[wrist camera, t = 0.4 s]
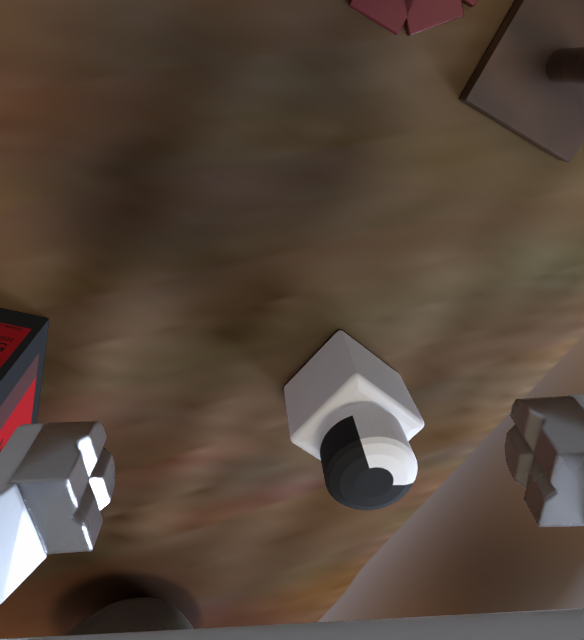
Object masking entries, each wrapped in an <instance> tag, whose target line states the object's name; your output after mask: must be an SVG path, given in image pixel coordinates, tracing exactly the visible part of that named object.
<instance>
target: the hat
mask: <svg viewBox="0 0 584 640" xmlns="http://www.w3.org/2000/svg"><path fill="white" fill-rule="evenodd" d="M462 1H463V2H464V3H466V4H467V5H469V6H470V7H473V6H475V4H476V2H477V0H351V1H350V3H349V6H350V7H352V8H353V9H355V10H357V11H358V12H360V13H361V14H363V15H365V16H366V17H368V18H370V19H371V20H373V21H374V22H376V23H378V24H379V25H381V26H383V27H384V28H386V29H387V30H389V31H391V32H392V33H394V34H396V35H397V34H399V32H400V30H401V28H402V26H403V24H404V22H405V24H406V29H407V34H408V36H410V35H413V34H416V33H419V32H421V31H424V30H427V29H429V28H432V27H435V26H438V25H440V24H443V23H446V22H448V21H451V20H454V19H457V18H459V17H462V16H464V13H463V6H462Z"/></svg>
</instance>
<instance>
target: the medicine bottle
mask: <svg viewBox="0 0 584 640" xmlns="http://www.w3.org/2000/svg"><path fill="white" fill-rule="evenodd" d="M284 394H285V402H286V410H287V417H288V425H289V433H290V440H291V441H292V443H294V444H296V445H297V446H299V447H300V448H302V449H303V450H305V451H307V452H308V453H310V454H311V455H313V456H314V457H316V458H318V459H319V460H321V463H322V468H323V473H324V478H325V483H326V487H327V489H328V491H329V493H330V494H331V496H332V497H333V498H334V499H335V500H336V501H338V502H339V503H341V504H343V505H345V506H348V507H350V508H353V509H358V510H375V509H380V508H383V507H386V506H388V505H391V504H393V503H395V502H396V501H398V500H399V499H400V498H402V497H403V496H404V495H405V494H406V493H407V492H408V490H409V489H410V487H411V486H412V485H413V483H414V481H415V478H416V475H417V461H416V458H415V455H414V453H413V451H412V449H411V446H410V444H409V442H408V441H409V440H410V439H411V438H412V437H413V436H414V435H415V434H416V433H418V432H419V431H420V430H421V429H422V428H423V427H424V421H423V419H422V417H421V415H420V413H419V411H418V409H417V407H416V405H415V403H414V402H413V400H412V398H411V396H410V394H409V392H408V390H407V388H406V386H405V384H404V382H403V380H402V378H401V376H400V375H399V374H398V373H397V372H396V371H394V370H393V369H392V368H391V367H389V366H388V365H387V364H385V363H384V362H383V361H381V360H380V359H379V358H378V357H376V356H375V355H374V354H372V353H371V352H370V351H368V350H367V349H366V348H364V347H363V346H362V345H361V344H359V343H358V342H357V341H355V340H354V339H353V338H351V337H350V336H349V335H347V334H346V333H345V332H344V331H342V330H339V331H337V332H336V333H335V334H334V335H333V336H332V337H331V339H330V340H329V341H328V342H327V343H326V344H325V345H324V346H323V347H322V348H321V349H320V350H319V351H318V352H317V353H316V354H315V355H314V356H313V357H312V358H311V359H310V360H309V361H308V362H307V363H306V364H305V366H304V367H303V368H302V369H301V370H300V371H299V372H298V373H297V374H296V375H295V376H294V377H293V378H292V379H291V380H290V381H289V382H288V383H287V384H286V385H285V387H284Z"/></svg>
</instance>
